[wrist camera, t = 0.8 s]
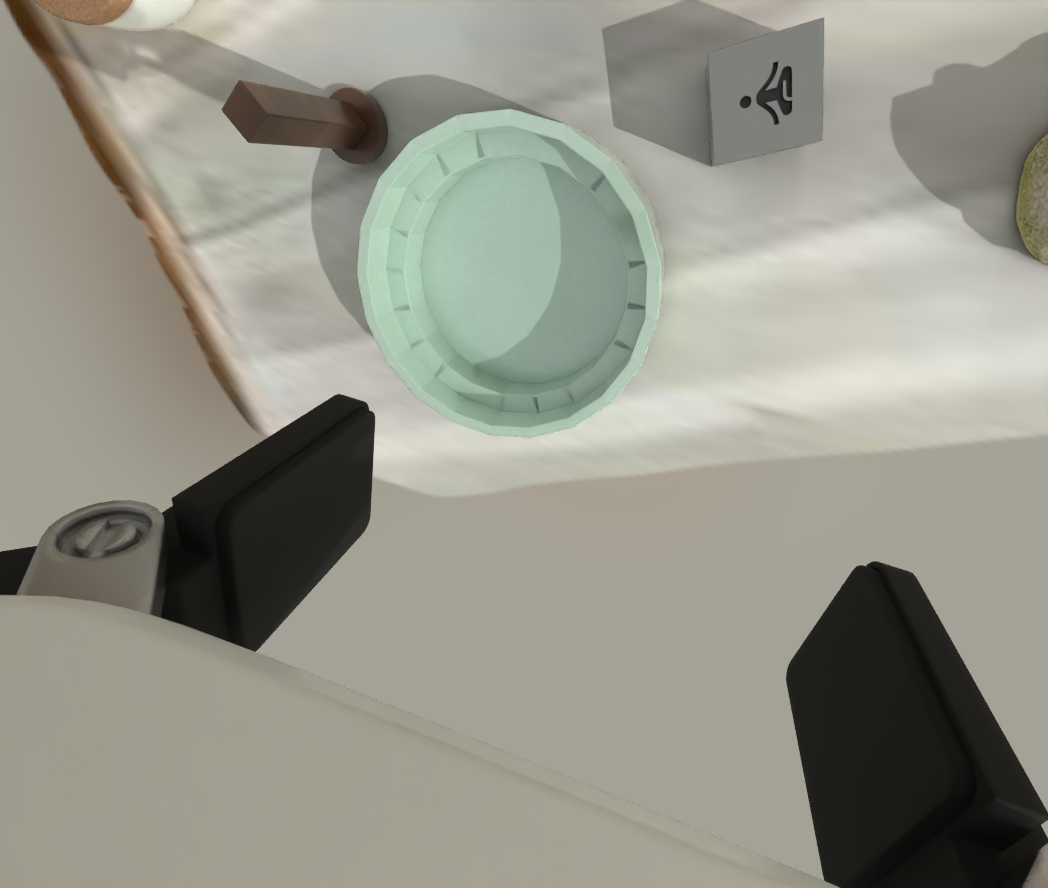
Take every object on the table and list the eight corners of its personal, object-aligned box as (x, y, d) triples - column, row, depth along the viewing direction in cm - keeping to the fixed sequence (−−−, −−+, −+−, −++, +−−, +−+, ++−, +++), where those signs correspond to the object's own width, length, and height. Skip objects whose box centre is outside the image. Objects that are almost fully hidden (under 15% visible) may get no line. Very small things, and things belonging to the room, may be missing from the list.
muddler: (319, 124, 37) (193, 107, 28) (356, 73, 35) (232, 36, 25) (361, 177, 38) (253, 179, 28) (399, 131, 36) (296, 116, 26)
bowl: (352, 253, 41) (304, 265, 36) (544, 41, 31) (515, 15, 26) (510, 446, 45) (486, 481, 39) (722, 308, 35) (727, 331, 30)
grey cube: (803, 145, 30) (822, 140, 26) (711, 166, 32) (714, 165, 28) (803, 41, 28) (824, 17, 24) (705, 70, 30) (708, 52, 26)
